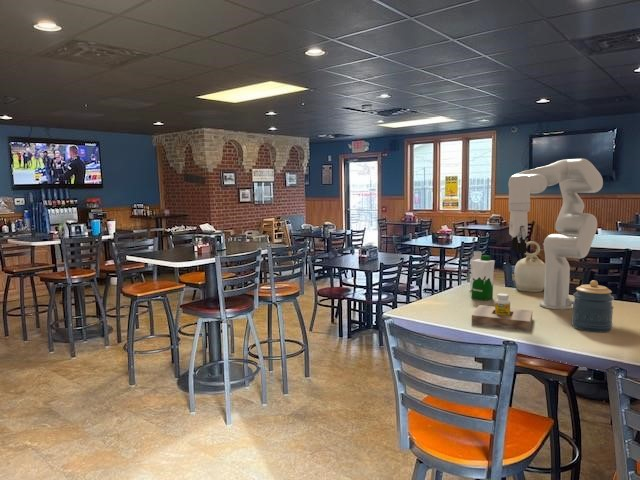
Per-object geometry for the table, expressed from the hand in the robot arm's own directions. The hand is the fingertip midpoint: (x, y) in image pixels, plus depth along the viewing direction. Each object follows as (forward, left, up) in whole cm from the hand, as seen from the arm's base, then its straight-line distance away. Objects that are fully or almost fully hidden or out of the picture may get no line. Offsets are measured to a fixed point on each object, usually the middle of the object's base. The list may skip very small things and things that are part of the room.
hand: (518, 251), depth 185 cm
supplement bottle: (+4, +10, -26) cm, 28 cm away
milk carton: (+17, -30, -27) cm, 43 cm away
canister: (-26, +3, -27) cm, 37 cm away
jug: (-2, -62, -27) cm, 67 cm away
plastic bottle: (+22, -47, -27) cm, 58 cm away
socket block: (+4, +9, -27) cm, 28 cm away
